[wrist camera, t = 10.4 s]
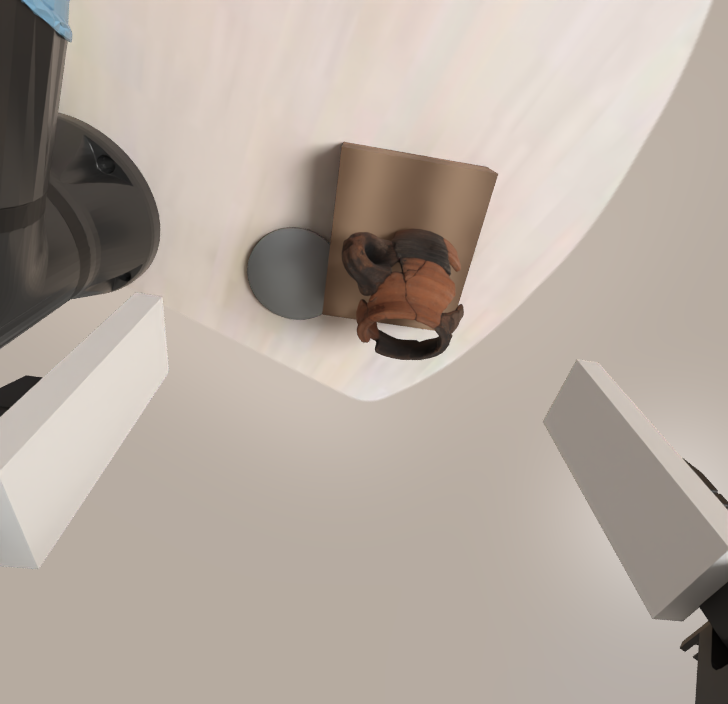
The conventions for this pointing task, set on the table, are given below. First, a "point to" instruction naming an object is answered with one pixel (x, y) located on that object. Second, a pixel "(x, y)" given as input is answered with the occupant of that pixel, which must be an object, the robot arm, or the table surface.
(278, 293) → the coaster
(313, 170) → the table surface
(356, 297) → the plinth
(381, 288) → the pottery mug
